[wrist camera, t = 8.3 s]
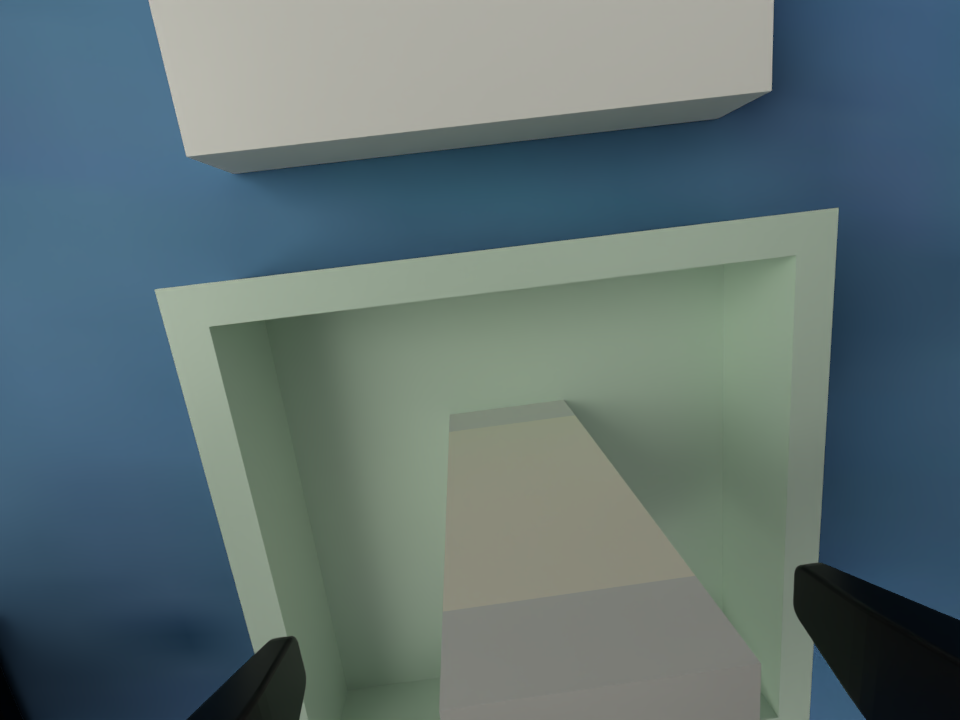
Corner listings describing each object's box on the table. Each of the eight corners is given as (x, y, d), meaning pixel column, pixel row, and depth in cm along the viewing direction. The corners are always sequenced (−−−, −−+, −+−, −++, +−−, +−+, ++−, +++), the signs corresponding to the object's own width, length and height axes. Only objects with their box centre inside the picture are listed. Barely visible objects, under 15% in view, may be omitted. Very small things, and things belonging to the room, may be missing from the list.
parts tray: (732, 634, 15) (807, 737, 12) (332, 691, 15) (298, 813, 11) (736, 220, 12) (838, 207, 9) (236, 280, 12) (154, 289, 9)
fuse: (577, 565, 13) (753, 1012, 5) (473, 579, 13) (499, 1054, 5) (563, 399, 12) (761, 664, 4) (449, 414, 12) (439, 711, 4)
